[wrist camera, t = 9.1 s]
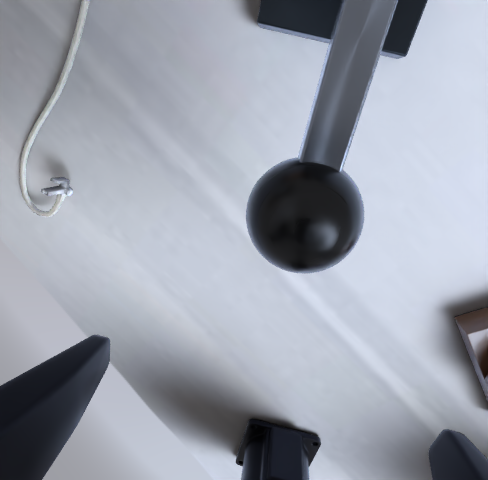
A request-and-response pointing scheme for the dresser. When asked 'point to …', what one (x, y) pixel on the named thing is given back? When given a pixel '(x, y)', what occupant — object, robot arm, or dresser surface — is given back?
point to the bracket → (324, 16)
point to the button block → (476, 342)
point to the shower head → (64, 183)
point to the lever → (323, 154)
